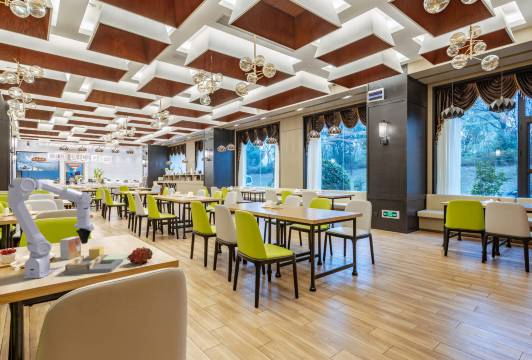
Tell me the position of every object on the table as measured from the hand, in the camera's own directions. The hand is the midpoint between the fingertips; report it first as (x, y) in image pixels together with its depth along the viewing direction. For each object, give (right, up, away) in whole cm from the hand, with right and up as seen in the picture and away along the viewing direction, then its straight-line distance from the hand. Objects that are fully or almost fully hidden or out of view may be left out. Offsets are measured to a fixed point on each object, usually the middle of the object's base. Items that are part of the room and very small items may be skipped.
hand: (84, 243), depth 148 cm
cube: (+4, -8, +4) cm, 10 cm away
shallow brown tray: (+5, -9, -8) cm, 13 cm away
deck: (+9, -10, -3) cm, 14 cm away
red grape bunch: (+29, -10, -1) cm, 30 cm away
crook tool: (+22, -9, +10) cm, 25 cm away
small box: (-14, -10, +10) cm, 20 cm away
